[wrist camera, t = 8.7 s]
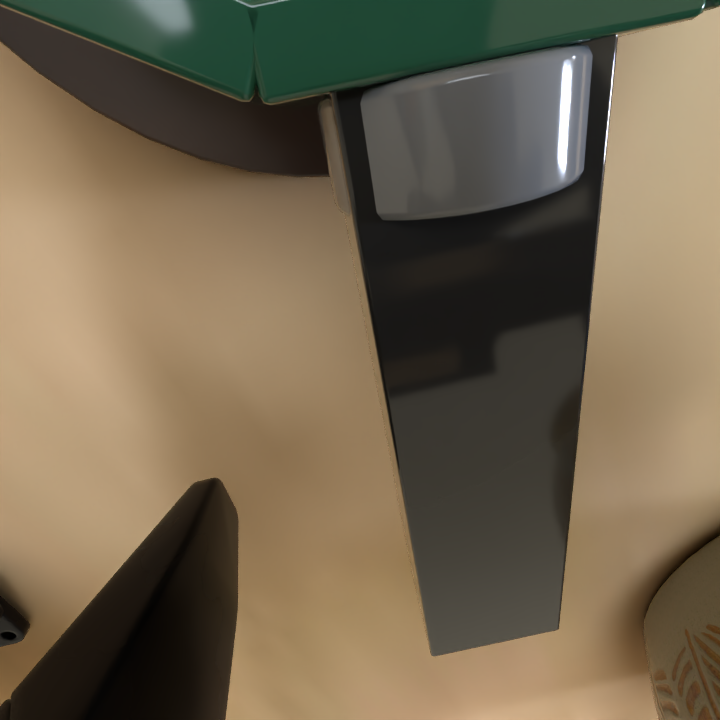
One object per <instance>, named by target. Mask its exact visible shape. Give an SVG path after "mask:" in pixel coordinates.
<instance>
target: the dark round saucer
mask: <svg viewBox="0 0 720 720" xmlns="http://www.w3.org/2000/svg"><path fill="white" fill-rule="evenodd" d="M0 42H2V43H3V44H4V45H5V46H7V47H8V48H9V49H10V50H11V51H13V52H14V53H15V54H16V55H17V56H19V57H20V58H21V59H22V60H23V61H25V62H26V63H27V64H28V65H29V66H31V67H32V68H33V69H34V70H36V71H37V72H38V73H39V74H41V75H42V76H44V77H45V78H47V79H48V80H50V81H51V82H53V83H54V84H56V85H57V86H59V87H60V88H62V89H63V90H65V91H66V92H68V93H69V94H71V95H72V96H74V97H75V98H76V99H78V100H79V101H81V102H82V103H84V104H85V105H87V106H88V107H90V108H91V109H93V110H94V111H96V112H98V113H100V114H102V115H104V116H106V117H107V118H109V119H111V120H113V121H115V122H117V123H119V124H121V125H123V126H124V127H126V128H128V129H130V130H132V131H134V132H136V133H138V134H140V135H141V136H143V137H145V138H147V139H149V140H152V141H154V142H157V143H160V144H162V145H165V146H167V147H170V148H172V149H175V150H178V151H180V152H183V153H185V154H188V155H190V156H193V157H196V158H198V159H201V160H205V161H209V162H213V163H217V164H221V165H225V166H229V167H233V168H237V169H241V170H245V171H249V172H256V173H265V174H274V175H282V176H291V177H330V175H329V170H328V165H327V160H326V155H325V150H324V145H323V139H322V134H321V129H320V124H319V119H318V114H317V109H318V104H315V105H310V106H306V107H301V108H296V109H286V108H275V107H269V106H263V105H257V104H251V103H245V102H241V101H238V100H236V99H233V98H230V97H228V96H225V95H223V94H220V93H218V92H215V91H213V90H210V89H208V88H205V87H203V86H200V85H198V84H195V83H193V82H190V81H188V80H185V79H183V78H180V77H178V76H175V75H173V74H170V73H167V72H165V71H162V70H160V69H157V68H155V67H152V66H150V65H147V64H145V63H142V62H140V61H137V60H135V59H132V58H130V57H127V56H125V55H122V54H120V53H117V52H115V51H112V50H110V49H107V48H104V47H102V46H99V45H97V44H94V43H92V42H89V41H87V40H84V39H82V38H79V37H77V36H74V35H72V34H69V33H67V32H64V31H62V30H59V29H57V28H54V27H52V26H49V25H47V24H44V23H41V22H39V21H36V20H34V19H31V18H29V17H26V16H24V15H21V14H19V13H16V12H14V11H11V10H9V9H6V8H4V7H1V6H0Z"/></svg>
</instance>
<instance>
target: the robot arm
mask: <svg viewBox="0 0 720 720" xmlns="http://www.w3.org/2000/svg"><path fill="white" fill-rule="evenodd" d="M237 610H238V514H237V511H236V508H235V506H234V504H233V502H232V500H231V498H230V496H229V494H228V492H227V490H226V488H225V487H224V485H223V483H222V481H221V480H220V479H218V478H210V479H206V480H202V481H198V482H195V483H194V484H192V485H191V486H190V488H189V489H188V490H187V491H186V492H185V493H184V495H183V496H182V497H181V498H180V499H179V500H178V501H177V503H176V504H175V505H174V506H173V507H172V508H171V510H170V511H169V512H168V513H167V514H166V515H165V517H164V518H163V519H162V520H161V521H160V522H159V524H158V525H157V526H156V527H155V528H154V529H153V530H152V532H151V533H150V534H149V535H148V536H147V537H146V539H145V540H144V541H143V542H142V543H141V544H140V546H139V547H138V548H137V549H136V550H135V551H134V552H133V554H132V555H131V556H130V557H129V558H128V559H127V561H126V562H125V563H124V564H123V565H122V566H121V568H120V569H119V570H118V571H117V572H116V573H115V574H114V576H113V577H112V578H111V579H110V580H109V581H108V583H107V584H106V585H105V586H104V587H103V588H102V590H101V591H100V592H99V593H98V594H97V595H96V596H95V598H94V599H93V600H92V601H91V602H90V603H89V605H88V606H87V607H86V608H85V609H84V610H83V612H82V613H81V614H80V615H79V616H78V617H77V618H76V620H75V621H74V622H73V623H72V624H71V625H70V627H69V628H68V629H67V630H66V631H65V632H64V634H63V635H62V636H61V637H60V638H59V639H58V640H57V642H56V643H55V644H54V645H53V646H52V647H51V649H50V650H49V651H48V652H47V653H46V654H45V656H44V657H43V658H42V659H41V660H40V661H39V662H38V664H37V665H36V666H35V667H34V668H33V669H32V671H31V672H30V673H29V674H28V675H27V676H26V678H25V679H24V680H23V681H22V682H21V683H20V684H19V686H18V687H17V688H16V689H15V690H14V691H13V693H12V695H11V699H8V700H6V701H5V702H4V703H3V704H2V705H1V706H0V720H225V718H226V709H227V701H228V692H229V683H230V674H231V666H232V657H233V648H234V639H235V631H236V621H237ZM29 628H30V624H29V622H28V621H27V620H26V619H25V618H24V617H23V616H22V615H20V614H19V613H18V612H17V611H16V610H15V609H14V608H13V607H12V606H11V605H10V604H9V603H7V602H6V601H5V600H4V599H3V598H2V597H1V596H0V647H1V646H6V645H10V644H14V643H18V642H20V641H22V640H23V639H24V637H25V635H26V633H27V631H28V629H29Z"/></svg>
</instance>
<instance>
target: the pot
mask: <svg viewBox="0 0 720 720" xmlns="http://www.w3.org/2000/svg"><path fill="white" fill-rule="evenodd" d="M0 6H1V7H4V8H6V9H9V10H11V11H14V12H16V13H19V14H21V15H24V16H26V17H29V18H31V19H34V20H36V21H39V22H41V23H44V24H47V25H49V26H52V27H54V28H57V29H59V30H62V31H64V32H67V33H69V34H72V35H74V36H77V37H79V38H82V39H84V40H87V41H89V42H92V43H94V44H97V45H99V46H102V47H104V48H107V49H110V50H112V51H115V52H117V53H120V54H122V55H125V56H127V57H130V58H132V59H135V60H137V61H140V62H142V63H145V64H147V65H150V66H152V67H155V68H157V69H160V70H162V71H165V72H167V73H170V74H173V75H175V76H178V77H180V78H183V79H185V80H188V81H190V82H193V83H195V84H198V85H200V86H203V87H205V88H208V89H210V90H213V91H215V92H218V93H220V94H223V95H225V96H228V97H230V98H233V99H236V100H238V101H241V102H245V103H251V104H257V105H263V106H269V107H275V108H286V109H296V108H301V107H306V106H310V105H315V104H318V109H317V114H318V119H319V124H320V129H321V134H322V139H323V145H324V150H325V155H326V160H327V165H328V170H329V175H330V180H331V185H332V190H333V195H334V201H335V204H336V205H337V207H338V208H339V210H340V211H341V212H342V213H343V214H344V216H345V221H346V226H347V232H348V237H349V242H350V247H351V253H352V258H353V263H354V269H355V274H356V279H357V285H358V290H359V295H360V301H361V306H362V311H363V316H364V322H365V327H366V332H367V338H368V343H369V348H370V354H371V359H372V364H373V370H374V375H375V380H376V385H377V391H378V396H379V401H380V407H381V412H382V417H383V423H384V428H385V433H386V439H387V444H388V449H389V454H390V460H391V465H392V470H393V476H394V481H395V486H396V492H397V497H398V502H399V508H400V513H401V518H402V523H403V529H404V534H405V539H406V545H407V550H408V555H409V561H410V566H411V571H412V576H413V580H414V584H415V589H416V593H417V597H418V601H419V606H420V610H421V614H422V619H423V623H424V627H425V631H426V636H427V640H428V644H429V649H430V653H431V655H432V656H439V655H443V654H448V653H453V652H457V651H462V650H467V649H471V648H476V647H481V646H485V645H490V644H495V643H499V642H504V641H508V640H513V639H518V638H522V637H527V636H532V635H536V634H541V633H546V632H550V631H555V630H558V629H559V621H560V611H561V601H562V591H563V581H564V571H565V561H566V551H567V541H568V531H569V521H570V511H571V501H572V491H573V481H574V471H575V461H576V451H577V441H578V431H579V421H580V411H581V401H582V391H583V381H584V371H585V361H586V351H587V341H588V331H589V321H590V311H591V301H592V291H593V281H594V271H595V261H596V251H597V241H598V231H599V221H600V211H601V201H602V191H603V181H604V171H605V162H606V152H607V142H608V132H609V122H610V112H611V102H612V92H613V82H614V72H615V62H616V52H617V42H618V37H621V36H625V35H629V34H633V33H638V32H642V31H646V30H650V29H654V28H658V27H663V26H667V25H671V24H675V23H679V22H683V21H688V20H692V19H694V18H695V17H697V16H698V15H700V14H701V13H702V12H703V11H706V10H710V9H714V8H716V7H719V6H720V0H0Z"/></svg>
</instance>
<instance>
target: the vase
mask: <svg viewBox="0 0 720 720" xmlns="http://www.w3.org/2000/svg"><path fill="white" fill-rule="evenodd" d="M643 636H644V642H645V648H646V655H647V662H648V668H649V675H650V681H651V687H652V692H653V697H654V702H655V707H656V710H657V714H658V718H659V720H720V536H718V537H717V538H715V539H713V540H712V541H710V542H709V543H707V544H706V545H705V546H704V547H702V548H701V549H700V550H698V551H697V552H696V553H694V554H693V555H692V556H691V557H689V558H688V559H687V560H686V561H685V562H684V563H683V564H682V565H681V566H680V567H679V568H678V569H676V570H675V571H674V572H673V573H672V574H671V576H670V577H669V578H668V579H667V580H666V581H665V583H664V584H663V585H662V586H661V587H660V589H659V590H658V592H657V593H656V595H655V597H654V598H653V600H652V601H651V603H650V606H649V608H648V611H647V613H646V615H645V620H644V627H643Z"/></svg>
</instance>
